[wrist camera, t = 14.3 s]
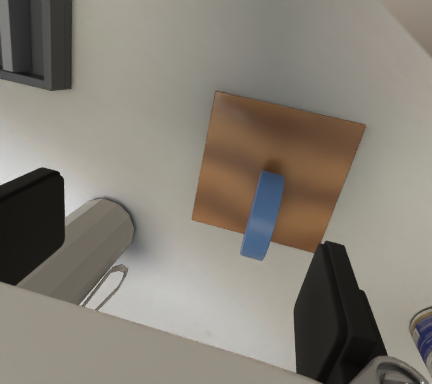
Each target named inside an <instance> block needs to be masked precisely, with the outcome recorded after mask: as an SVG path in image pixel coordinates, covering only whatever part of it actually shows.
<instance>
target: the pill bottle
mask: <svg viewBox="0 0 432 384" xmlns="http://www.w3.org/2000/svg"><path fill="white" fill-rule="evenodd" d="M410 332H411V335H412V338H413V340H414V342H415V344H416V346H417V349H418V350H419V353H420V355H421V357H422V359H423V361H424V363H425V365H426V367H427V369H428V371H429V373H430V375H431V377H432V309H428V310H425V311H423V312H421V313H419V314H418V315H417V316H416V317H415V318H414V319H413V321H412V323H411V326H410Z"/></svg>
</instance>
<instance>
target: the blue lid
mask: <svg viewBox="0 0 432 384" xmlns="http://www.w3.org/2000/svg"><path fill="white" fill-rule="evenodd" d="M283 187H284V176H283V175H280V174H276V173H272V172H268V171H264V170H262V171H261V174H260V177H259V181H258V184H257V188H256V192H255V195H254V199H253V203H252V206H251V210H250V214H249V218H248V222H247V226H246V230H245V234H244V238H243V242H242V247H241V251H240V255H242V256H246V257H249V258H253V259H256V260H260V261H262V260H263V259H264V257H265V255H266V252H267V250H268V247H269V244H270V241H271V238H272V234H273V231H274V227H275V224H276V220H277V216H278V212H279V208H280V203H281V198H282V193H283Z"/></svg>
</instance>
